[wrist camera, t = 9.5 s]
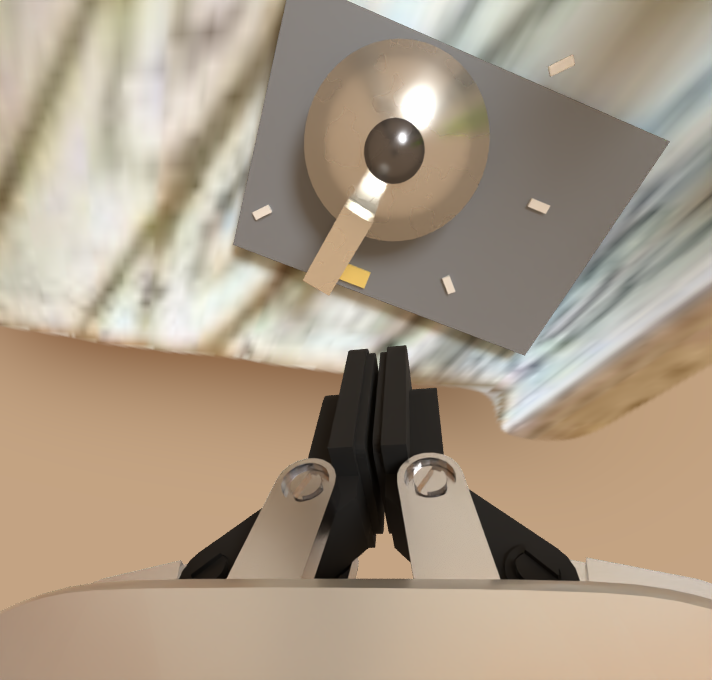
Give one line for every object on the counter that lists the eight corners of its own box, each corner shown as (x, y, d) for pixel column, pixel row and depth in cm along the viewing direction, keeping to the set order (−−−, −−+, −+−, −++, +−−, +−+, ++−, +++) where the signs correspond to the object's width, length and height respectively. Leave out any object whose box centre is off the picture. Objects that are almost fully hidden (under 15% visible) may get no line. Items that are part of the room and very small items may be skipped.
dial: (366, 0, 22) (357, -20, 18) (522, 112, 23) (542, 114, 20) (261, 226, 28) (239, 244, 25) (389, 301, 30) (387, 329, 26)
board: (239, 239, 30) (232, 245, 29) (305, -58, 22) (299, -68, 21) (520, 347, 32) (525, 356, 31) (679, 108, 24) (694, 108, 23)
